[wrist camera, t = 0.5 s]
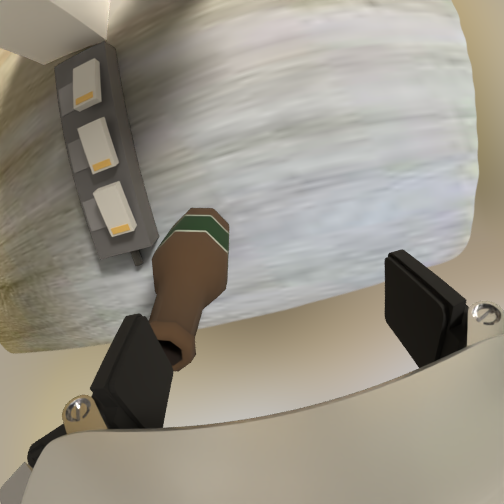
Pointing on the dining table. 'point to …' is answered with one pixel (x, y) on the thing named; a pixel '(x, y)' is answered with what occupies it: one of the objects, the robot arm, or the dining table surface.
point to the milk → (52, 27)
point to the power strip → (124, 148)
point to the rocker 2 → (115, 209)
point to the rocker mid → (98, 145)
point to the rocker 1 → (86, 85)
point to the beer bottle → (188, 280)
